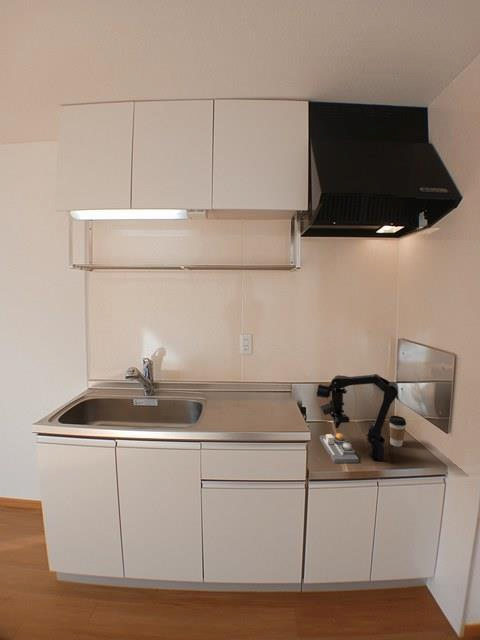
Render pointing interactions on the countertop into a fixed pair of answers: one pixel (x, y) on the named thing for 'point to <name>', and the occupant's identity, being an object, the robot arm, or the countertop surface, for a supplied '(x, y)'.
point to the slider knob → (329, 439)
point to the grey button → (347, 446)
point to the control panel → (339, 451)
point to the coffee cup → (397, 430)
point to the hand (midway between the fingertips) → (336, 428)
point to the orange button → (339, 436)
